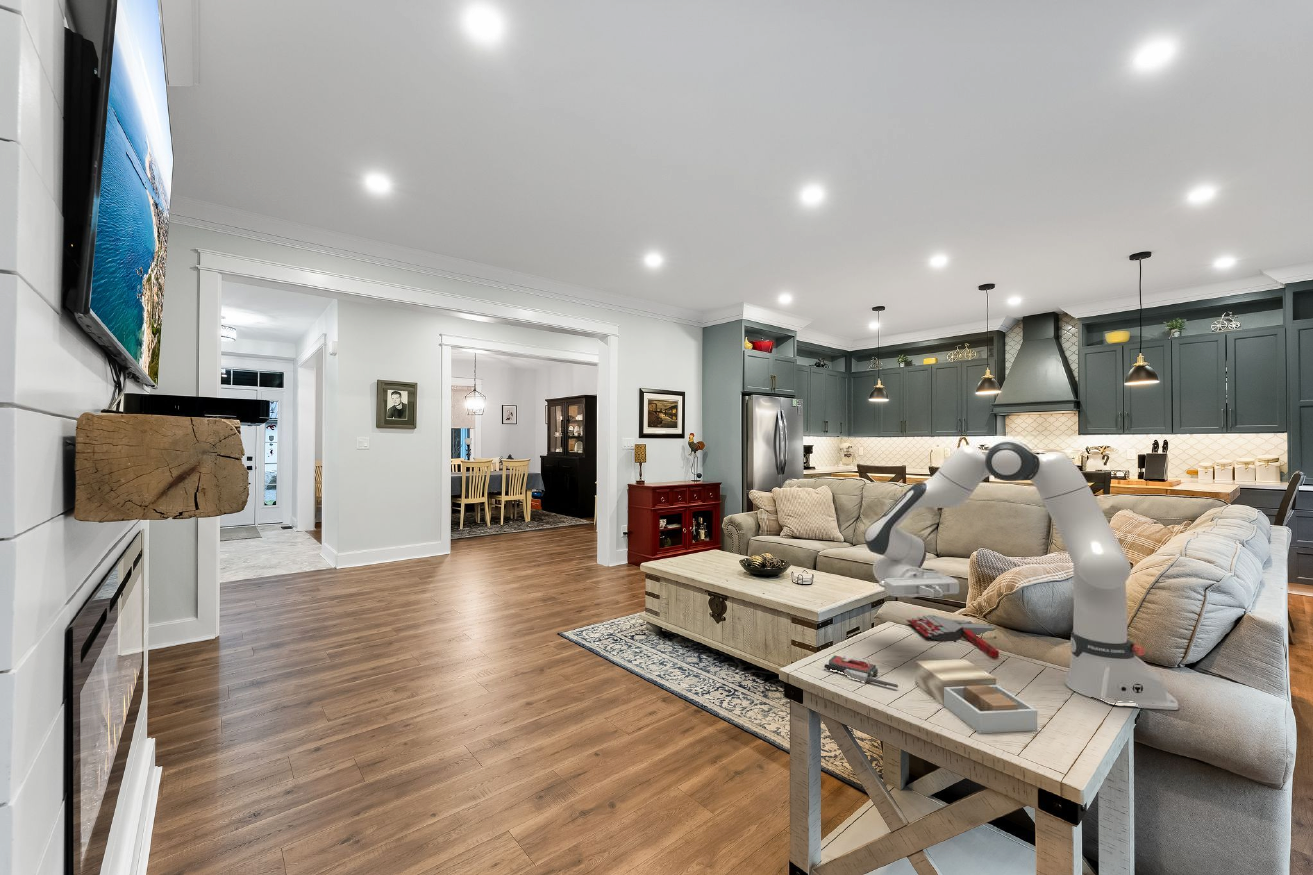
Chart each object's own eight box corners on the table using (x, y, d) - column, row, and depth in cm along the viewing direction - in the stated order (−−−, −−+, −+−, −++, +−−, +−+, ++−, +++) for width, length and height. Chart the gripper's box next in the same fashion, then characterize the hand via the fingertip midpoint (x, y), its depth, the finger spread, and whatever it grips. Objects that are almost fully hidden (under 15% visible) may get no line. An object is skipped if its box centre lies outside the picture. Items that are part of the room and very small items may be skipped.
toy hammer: (945, 646, 169) (906, 614, 199) (945, 659, 169) (906, 625, 199) (1028, 648, 168) (976, 616, 198) (1028, 661, 168) (976, 626, 198)
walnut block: (964, 685, 138) (993, 705, 128) (987, 684, 139) (1017, 704, 129) (964, 706, 138) (993, 727, 128) (987, 705, 139) (1017, 726, 129)
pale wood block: (915, 683, 152) (915, 661, 152) (964, 681, 154) (964, 659, 154) (942, 704, 140) (943, 680, 140) (995, 702, 142) (996, 678, 142)
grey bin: (943, 705, 140) (943, 687, 140) (996, 702, 141) (996, 684, 141) (979, 733, 127) (979, 713, 127) (1037, 730, 128) (1037, 710, 128)
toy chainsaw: (821, 673, 159) (896, 693, 147) (821, 657, 159) (897, 676, 147) (831, 663, 166) (905, 681, 154) (831, 648, 166) (905, 665, 154)
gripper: (875, 571, 167) (900, 583, 153) (940, 569, 169) (971, 580, 156) (875, 593, 167) (901, 607, 153) (941, 590, 169) (972, 603, 156)
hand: (937, 593), depth 154 cm, fingers closed
